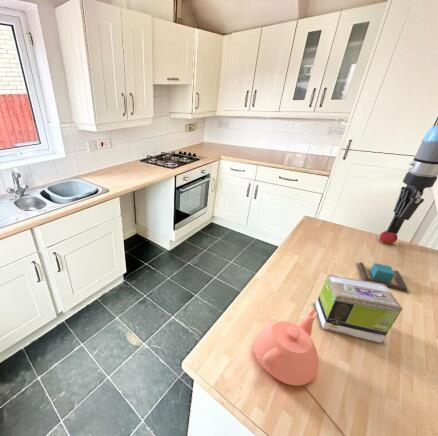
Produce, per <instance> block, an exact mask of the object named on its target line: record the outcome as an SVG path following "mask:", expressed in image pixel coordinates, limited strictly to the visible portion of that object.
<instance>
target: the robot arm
mask: <svg viewBox="0 0 438 436" xmlns="http://www.w3.org/2000/svg"><path fill="white" fill-rule="evenodd" d="M408 166H409V168H408V172H406V173H405V176H404V178H403V180H402V183H403V184H405V185H406V186H401V189H400V192H399V196H398V198H397V200H396V204H395V206H394V208H393V213H394V215H393V218H392V220H391V221H390V224H389V225H388V228H387V229H386V231H388V232H389V233H395V234H397V235H398V234H399V231H400V230H401V228H402V226H403V225H404V222H405V221H409V220H411V218H412V216H413V215H414V214H415V212H416V211H417V209H418V208H419V206H420V205H421V204H422V203H424V201H425V199H424V198H422V196H423V195H424V191H425V189H429V188H432V187H434V185H435V184H436V181H437V180H438V125H433V126H431V127H429V129H428V130H427V132H426V133H425V134H424V136H423V138H422V139H421V143H420V145H419V147H418V149H417V151H416V153H415V155H414V157H413V160H412V162H410V163H409V164H408Z"/></svg>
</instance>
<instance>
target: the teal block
mask: <svg viewBox="0 0 438 436" xmlns="http://www.w3.org/2000/svg"><path fill="white" fill-rule="evenodd" d="M369 273H370V276H371V279H375V280H379V281H383V282H387V283H391V282H392V280H393V279H394V277H395V274H394V270H393V268H392V266H390V265H385V264H381V263H376V262H374V263H373V265H372V267H371V269H370V270H369Z"/></svg>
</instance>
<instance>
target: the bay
mask: <svg viewBox="0 0 438 436" xmlns="http://www.w3.org/2000/svg"><path fill="white" fill-rule="evenodd" d="M358 267H359V270H360V273H361V276H362V279H363V281H369V282H374V283H380V284H385V285H386V286H387V288H388V289H393V290H397V291H401V292H405V293H406V292H407V291H408V287H407V285H406V283H405V282H404V279H403V277H402V276H401V274H400V272H399V270H393V272H394V274H395V275H394V277H395V279H396V281H397V283H398V284H394V283H391V282H390V283H387V282H383V281H379V280H375V279H373V278H372V277H371V278H370V277H368V276H369V275H368V274H367V270H366V268H365V266H364V263H363V262H361V261H360V262H359V263H358Z"/></svg>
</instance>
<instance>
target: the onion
mask: <svg viewBox="0 0 438 436" xmlns="http://www.w3.org/2000/svg"><path fill="white" fill-rule="evenodd" d="M379 240H380V241H381V242H382V243H383V244H385V245H389V244H394V243H396V242H397V241H398V233H397V234H395V233H389V232H388V231H387V230H383V231H382V232H381V233H380V234H379Z"/></svg>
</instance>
